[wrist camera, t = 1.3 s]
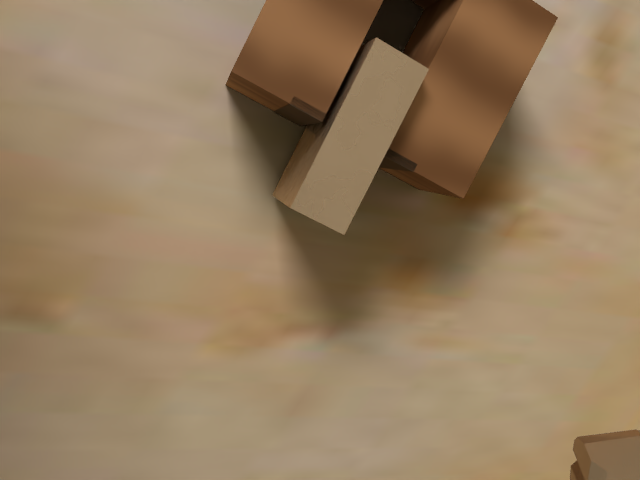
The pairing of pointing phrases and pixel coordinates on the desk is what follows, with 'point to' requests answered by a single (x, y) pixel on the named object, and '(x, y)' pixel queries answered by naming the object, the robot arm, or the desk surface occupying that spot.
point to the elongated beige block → (351, 137)
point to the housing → (424, 47)
